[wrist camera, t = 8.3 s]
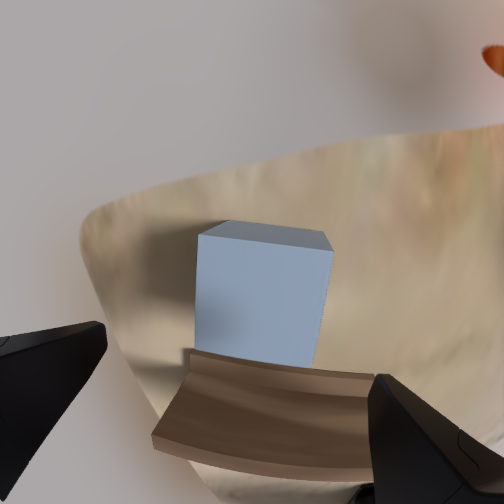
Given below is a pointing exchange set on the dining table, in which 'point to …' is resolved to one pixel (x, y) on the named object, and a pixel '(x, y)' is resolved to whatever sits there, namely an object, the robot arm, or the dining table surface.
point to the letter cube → (261, 291)
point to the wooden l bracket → (270, 420)
